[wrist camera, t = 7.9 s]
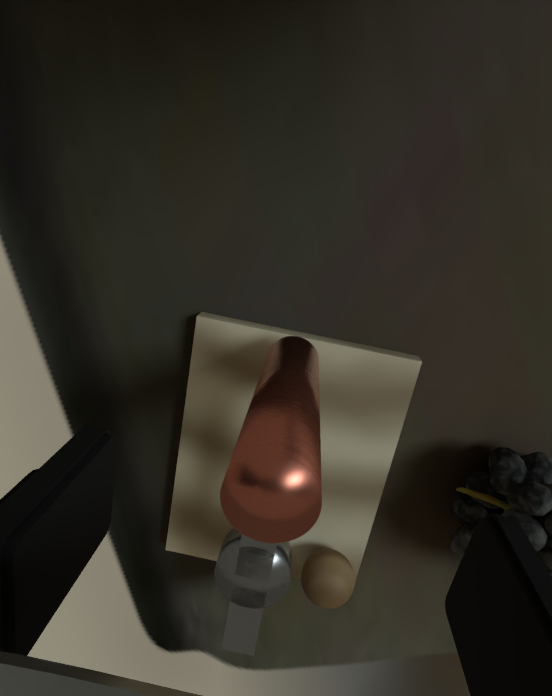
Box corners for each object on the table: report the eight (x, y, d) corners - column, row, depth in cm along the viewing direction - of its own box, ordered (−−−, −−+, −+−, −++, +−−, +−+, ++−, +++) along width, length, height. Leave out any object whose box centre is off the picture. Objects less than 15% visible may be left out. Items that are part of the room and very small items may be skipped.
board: (201, 311, 28) (180, 329, 24) (417, 355, 27) (437, 382, 23) (170, 538, 33) (148, 587, 29) (351, 578, 33) (356, 633, 28)
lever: (260, 327, 25) (203, 441, 12) (335, 341, 25) (355, 471, 12) (218, 585, 31) (148, 847, 18) (278, 598, 31) (252, 871, 18)
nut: (307, 531, 31) (306, 571, 27) (357, 542, 30) (363, 584, 27) (297, 572, 32) (295, 615, 28) (346, 582, 32) (349, 627, 28)
